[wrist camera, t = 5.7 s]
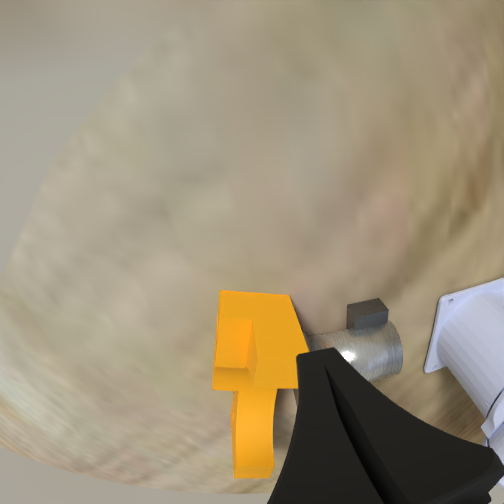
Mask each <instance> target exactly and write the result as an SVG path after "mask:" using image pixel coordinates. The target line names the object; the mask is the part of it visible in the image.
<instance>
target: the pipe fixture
mask: <svg viewBox="0 0 504 504" xmlns="http://www.w3.org/2000/svg"><path fill="white" fill-rule="evenodd" d="M388 312H389V310H388V309H387V307H386V306H385V305H384V304H383V302H382V301H381V300H380V299H379V298H377V299H373V300H368V301H363V302H359V303H354V304H349V305H347V329H344V330H339V331H335V332H330V333H325V334H320V335H315V336H309V337H308V336H307V334H306V333H305V332H302V333H303V336H304V338H305V341H306V344H307V347H308V350H309V352H311V351H316V350H321V349H326V348H331V347H334V348H336V349H337V350H338V351H339V352H340V354H341V355H342V356H343V357H344V358H345V359H346V360H347V361H348V362H349V363H350V364H351V365H352V366H353V367H354V368H355V369H356V370H357V371H358V372H359V373H360V374H361V375H362V376H363V377H364V378H365V379H366V380H367V381H369V382H373V381H376V380H380V379H383V378H387V377H390V376H393V375H397V374H398V373H399V372H400V371H401V368H402V364H403V350H402V344H401V340H400V337H399V334H398V332H397V329H396V328H395V326H394V325H393V323H392V322H390V321H389V320H388ZM293 390H294V395H295V400H296V404H297V407H298V399H299V392H298V388H293Z"/></svg>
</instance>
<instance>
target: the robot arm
mask: <svg viewBox="0 0 504 504" xmlns="http://www.w3.org/2000/svg"><path fill="white" fill-rule="evenodd" d="M449 300H450V301H449ZM448 301H449V302H448ZM296 365H297V379H298V392H299V399H298V407H297V414H296V420H295V425H294V430H293V434H292V438H291V442H290V446H289V449H288V453H287V456H286V459H285V462H284V465H283V468H282V470H281V473H280V476H279V478H278V480H277V483H276V485H275V487H274V490H273V492H272V494H271V496H270V499H269V501H268V503H267V504H488V503H490V502H491V497H490V495H489V493H488V492H489V491H490V490H491V489H492V488H493V487H494V486H495V485H496V484H497V485H498V486H499V487H501V488H502V489H504V278H500V279H497V280H494V281H491V282H488V283H485V284H482V285H478V286H475V287H472V288H468V289H465V290H462V291H458V292H455V293H451V294H448V295H444V296H442V297H441V298H440V300H439V302H438V308H437V313H436V318H435V323H434V328H433V333H432V337H431V342H430V346H429V350H428V354H427V358H426V362H425V366H424V371H425V372H426V373H430V372H432V371H435V370H438V369H441V368H443V367H446V366H447V367H448V369H449V370H450V371H451V373H452V374H453V375H454V376H455V378H456V379H457V380H458V382H459V383H460V385H461V386H462V387H463V389H464V390H465V391H466V393H467V394H468V395H469V397H470V398H471V400H472V401H473V402H474V404H475V405H476V407H477V408H478V409H479V411H480V412H481V414H482V415H483V417H484V418H485V419H486V421H485V422H484V423H483V424H482V426H481V429H482V430H483V432H484V433H485V435H486V436H485V437H484V439H483V440H482V444H481V445H479V444H476V443H472V442H469V441H466V440H463V439H460V438H458V437H455V436H453V435H450V434H448V433H446V432H444V431H442V430H439V429H437V428H435V427H433V426H431V425H429V424H427V423H425V422H424V421H422V420H420V419H418V418H417V417H415V416H413V415H412V414H410V413H409V412H407V411H406V410H404V409H403V408H401V407H400V406H398V405H397V404H395V403H394V402H393V401H391V400H390V399H389V398H388V397H386V396H385V395H384V394H382V393H381V392H380V391H379V390H378V389H376V388H375V387H374V386H373V385H372V384H371V383H370V382H369V381H367V380H366V379H365V378H364V377H363V376H362V375H361V374H360V373H359V372H358V371H357V370H356V369H355V368H354V367H353V366H352V365H351V364H350V363H349V362H348V361H347V360H346V359H345V358H344V357H343V356H342V355H341V354H340V352H339V351H338V350H337V349H336V348H334V347H331V348H326V349H321V350H316V351H311V352H306V353H301V354H298V355H297V356H296ZM503 504H504V503H503Z"/></svg>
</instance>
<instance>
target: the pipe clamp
mask: <svg viewBox="0 0 504 504" xmlns="http://www.w3.org/2000/svg"><path fill="white" fill-rule="evenodd" d="M306 352H309V350H308V347H307V344H306V341H305V338H304V336H303V333H302V330H301V327H300V324H299V321H298V319H297V316H296V313H295V310H294V307H293V305H292V302H291V299H290V296H289V295H280V294H265V293H251V292H238V291H225V290H220V295H219V305H218V316H217V327H216V339H215V350H214V362H213V390H227V391H234V396H233V403H232V410H231V432H232V452H233V470H234V478H270V477H271V474H272V472H273V469H274V467H275V463H274V454H273V414H274V405H275V398H276V393H277V389H278V388H298V379H297V365H296V356H297V355H298V354H301V353H306Z"/></svg>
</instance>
